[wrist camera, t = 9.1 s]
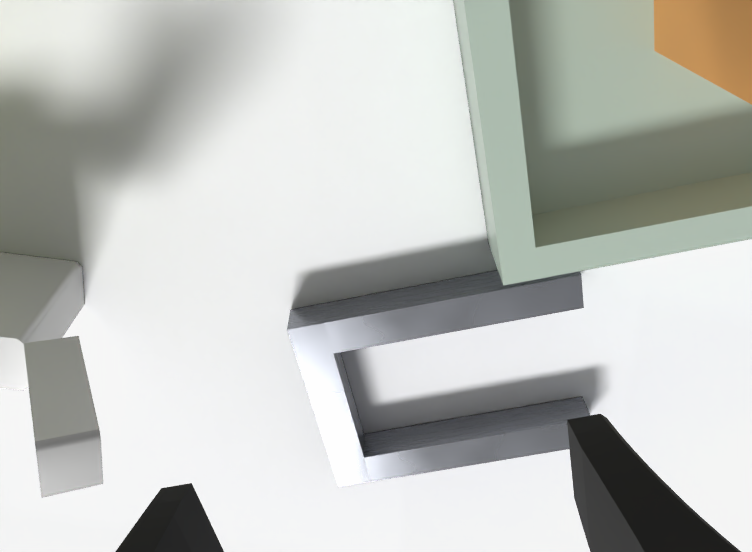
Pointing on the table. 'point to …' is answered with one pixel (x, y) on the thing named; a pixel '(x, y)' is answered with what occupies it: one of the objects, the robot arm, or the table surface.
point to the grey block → (50, 367)
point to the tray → (596, 138)
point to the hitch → (415, 320)
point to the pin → (708, 40)
